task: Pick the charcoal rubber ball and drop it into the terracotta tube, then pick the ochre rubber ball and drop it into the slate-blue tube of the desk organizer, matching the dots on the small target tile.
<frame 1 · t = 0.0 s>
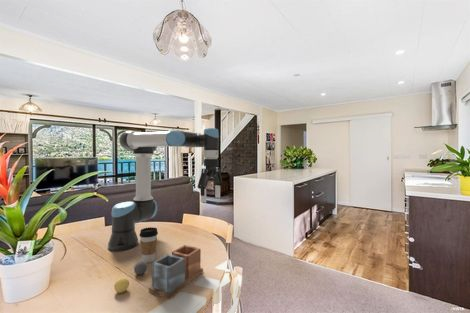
hand: (210, 199, 117), 28 cm above the table, fingers open, 13 cm apart
coffee cup: (148, 260, 110), on the table
ochre ball: (121, 284, 85), point 2 cm above the table
charcoal ball: (140, 267, 97), point 2 cm above the table
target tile: (169, 268, 102), on the table
desk organizer: (178, 280, 92), on the table
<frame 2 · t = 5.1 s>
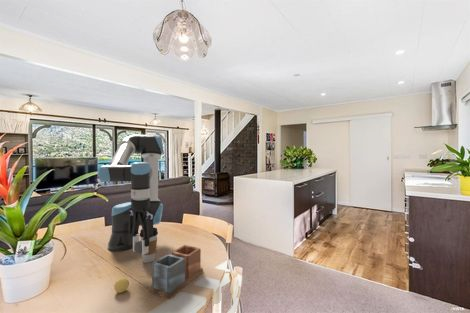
hand: (140, 251, 98), 9 cm above the table, fingers closed on charcoal ball, 5 cm apart
charcoal ball: (140, 247, 97), point 11 cm above the table, touching gripper
everything else where it was.
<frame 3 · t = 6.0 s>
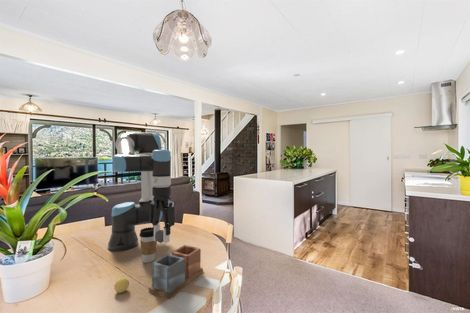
hand: (161, 241, 96), 15 cm above the table, fingers closed on charcoal ball, 5 cm apart
charcoal ball: (161, 236, 96), point 17 cm above the table, touching gripper
everything else where it was.
when the fingers open (12 cm above the table, at t = 7.1 s): charcoal ball drops 10 cm, resting on desk organizer.
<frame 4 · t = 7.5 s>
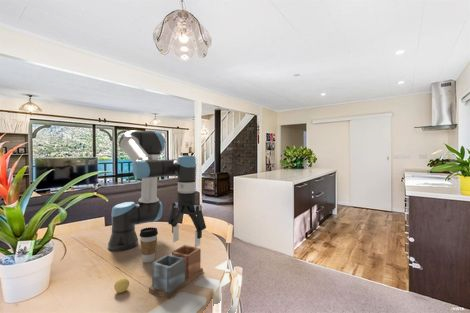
hand: (186, 243, 96), 13 cm above the table, fingers open, 11 cm apart
charcoal ball: (186, 265, 96), point 4 cm above the table, tilted 5°, touching desk organizer
everything else where it was.
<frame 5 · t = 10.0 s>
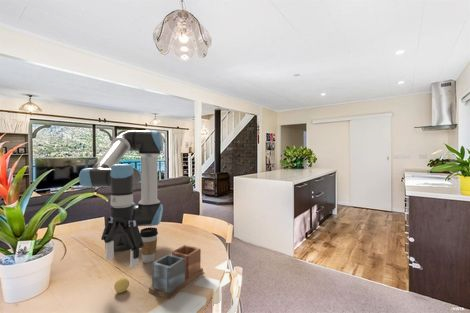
hand: (121, 262, 84), 11 cm above the table, fingers open, 13 cm apart
charcoal ball: (187, 266, 96), point 4 cm above the table, tilted 18°, touching desk organizer
everything else where it was.
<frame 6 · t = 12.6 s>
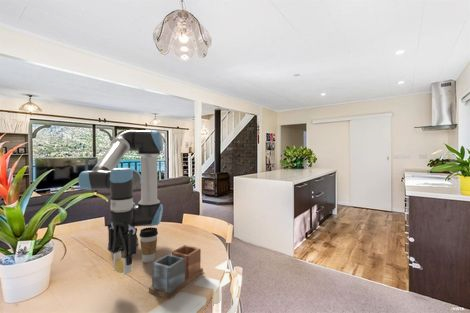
hand: (122, 270, 85), 7 cm above the table, fingers closed on ochre ball, 5 cm apart
ochre ball: (122, 265, 85), point 10 cm above the table, touching gripper
everything else where it was.
when the fingers open (12 cm above the table, at t = 14.5 s): ochre ball drops 10 cm, resting on desk organizer.
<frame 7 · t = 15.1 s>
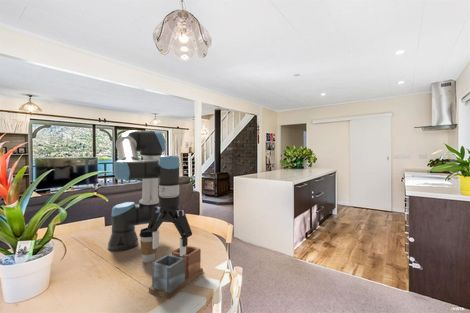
hand: (168, 251, 87), 14 cm above the table, fingers open, 13 cm apart
ochre ball: (168, 277, 87), point 4 cm above the table, tilted 7°, touching desk organizer
everything else where it was.
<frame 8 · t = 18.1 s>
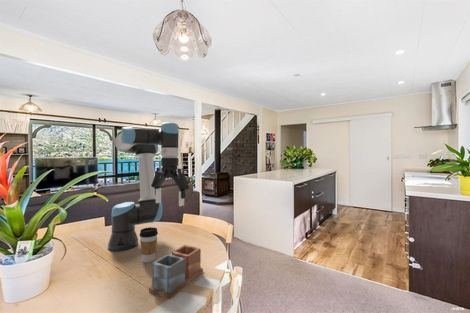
hand: (169, 204, 103), 29 cm above the table, fingers open, 13 cm apart
ochre ball: (169, 278, 87), point 4 cm above the table, tilted 14°, touching desk organizer
everything else where it was.
at the end: charcoal ball 0.6 cm from the target spot on the desk organizer, point 4.0 cm above the desk organizer's base; ochre ball 0.5 cm from the target spot on the desk organizer, point 4.0 cm above the desk organizer's base; the gripper is holding nothing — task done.
